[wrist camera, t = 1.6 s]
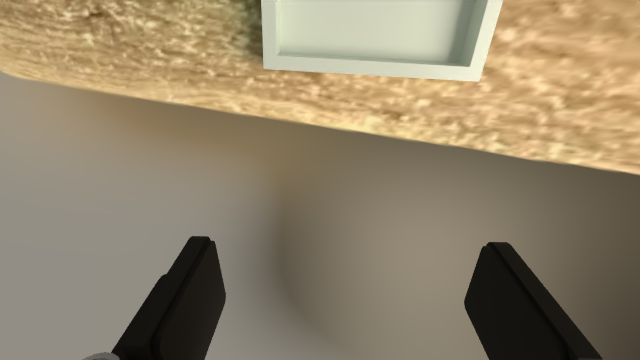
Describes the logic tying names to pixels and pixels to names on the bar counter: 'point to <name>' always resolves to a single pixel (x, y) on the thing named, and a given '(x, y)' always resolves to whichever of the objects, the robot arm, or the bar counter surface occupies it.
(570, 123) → the bar counter surface
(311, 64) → the tray
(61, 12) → the bar counter surface
